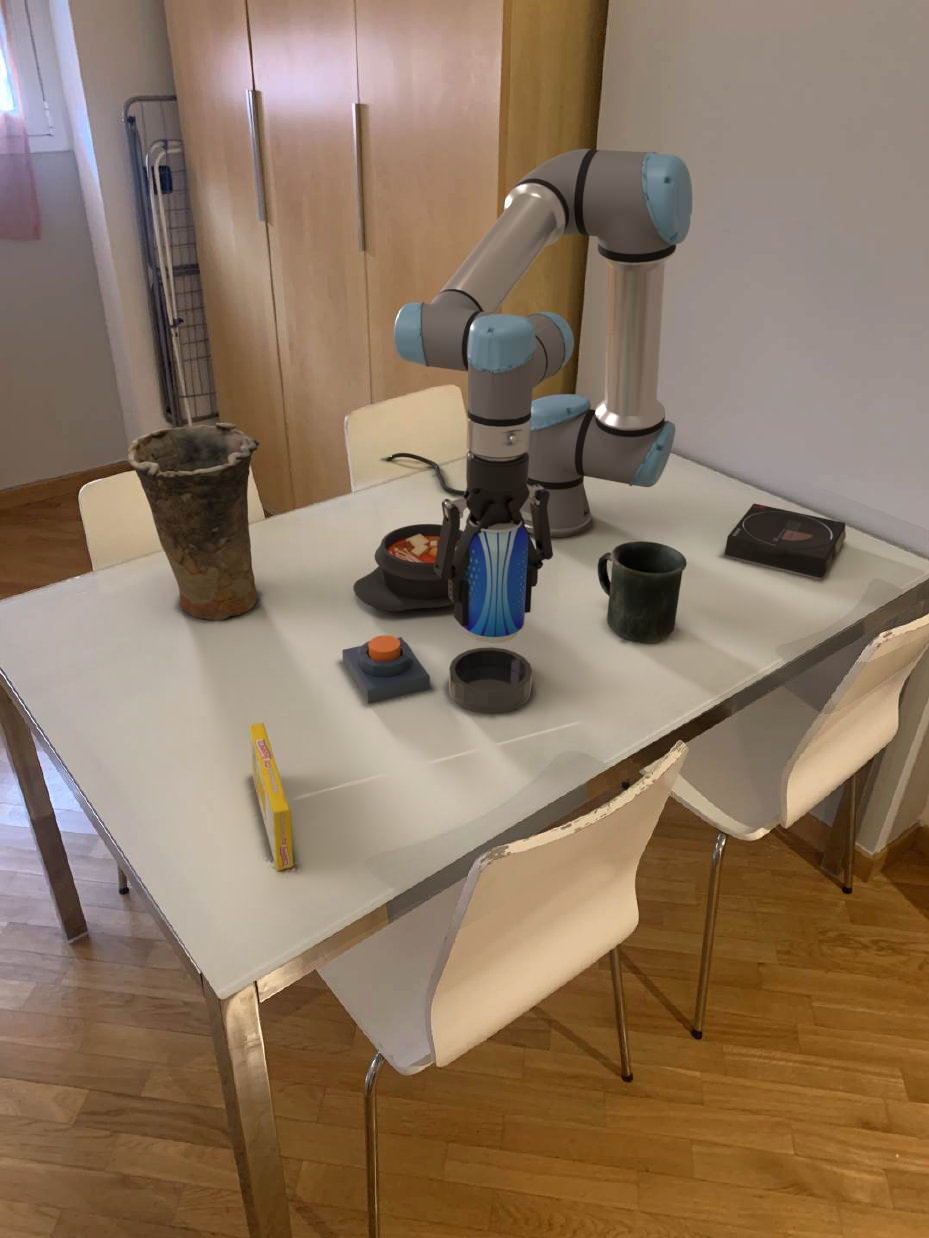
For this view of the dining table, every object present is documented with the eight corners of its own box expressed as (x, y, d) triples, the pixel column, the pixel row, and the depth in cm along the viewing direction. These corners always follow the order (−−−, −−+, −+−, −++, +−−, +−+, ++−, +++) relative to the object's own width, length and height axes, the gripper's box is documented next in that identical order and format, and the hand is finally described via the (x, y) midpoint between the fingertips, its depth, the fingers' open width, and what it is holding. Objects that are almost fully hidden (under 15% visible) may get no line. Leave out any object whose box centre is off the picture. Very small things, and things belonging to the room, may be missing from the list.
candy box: (296, 867, 105) (290, 809, 101) (276, 872, 104) (270, 813, 100) (270, 775, 118) (264, 720, 114) (252, 779, 118) (245, 724, 113)
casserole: (393, 636, 146) (391, 587, 142) (332, 587, 159) (329, 541, 155) (523, 591, 159) (525, 544, 155) (457, 548, 172) (458, 505, 168)
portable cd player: (824, 580, 163) (828, 559, 161) (724, 556, 171) (727, 536, 169) (844, 543, 176) (848, 523, 174) (750, 523, 183) (753, 503, 181)
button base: (342, 662, 140) (341, 638, 138) (401, 649, 143) (401, 626, 141) (368, 703, 131) (367, 679, 129) (430, 689, 134) (429, 664, 132)
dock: (436, 678, 137) (436, 657, 135) (508, 661, 141) (509, 640, 139) (469, 722, 128) (470, 700, 126) (544, 703, 132) (546, 681, 130)
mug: (646, 654, 143) (655, 582, 137) (572, 616, 152) (578, 547, 146) (691, 629, 149) (702, 559, 143) (618, 594, 158) (625, 527, 152)
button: (364, 649, 136) (364, 638, 135) (394, 643, 138) (393, 632, 137) (375, 665, 133) (374, 654, 132) (405, 658, 134) (405, 647, 134)
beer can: (457, 614, 133) (459, 506, 125) (519, 612, 133) (524, 505, 125) (463, 647, 125) (464, 534, 117) (527, 645, 126) (534, 533, 118)
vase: (288, 612, 152) (272, 449, 138) (171, 642, 144) (142, 472, 130) (250, 565, 165) (233, 412, 151) (141, 590, 157) (113, 431, 144)
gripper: (427, 474, 110) (428, 644, 121) (590, 449, 118) (576, 612, 129) (404, 452, 116) (406, 616, 127) (560, 430, 123) (549, 587, 135)
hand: (492, 614), depth 128 cm, fingers closed on beer can, 8 cm apart
